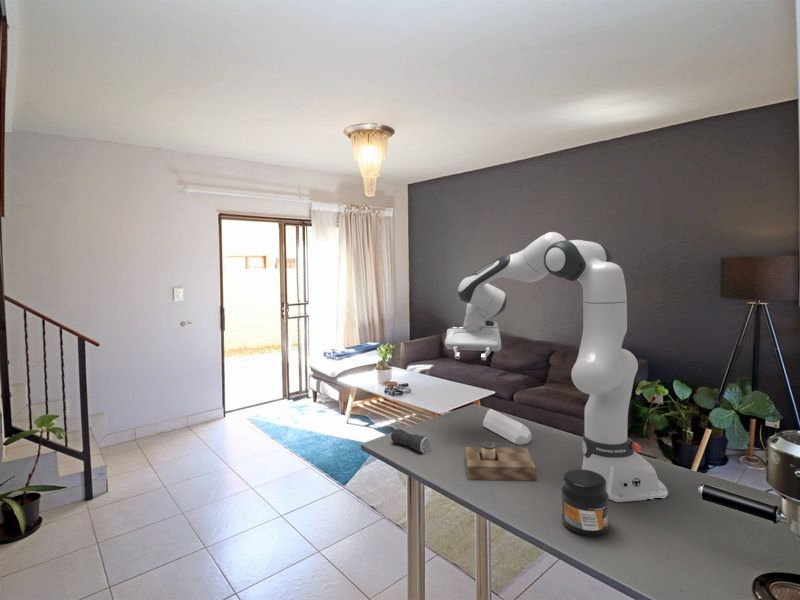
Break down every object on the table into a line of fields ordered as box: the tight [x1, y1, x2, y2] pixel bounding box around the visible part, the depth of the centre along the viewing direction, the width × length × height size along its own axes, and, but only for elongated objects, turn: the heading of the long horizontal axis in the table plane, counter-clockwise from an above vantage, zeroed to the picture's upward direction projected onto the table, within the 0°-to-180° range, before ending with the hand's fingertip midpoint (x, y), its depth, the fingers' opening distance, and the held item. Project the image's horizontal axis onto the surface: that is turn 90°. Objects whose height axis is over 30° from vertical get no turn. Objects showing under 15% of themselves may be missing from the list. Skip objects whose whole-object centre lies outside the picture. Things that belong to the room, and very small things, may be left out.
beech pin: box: [481, 441, 496, 461], centre depth 136 cm, size 4×4×8 cm
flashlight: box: [390, 428, 432, 454], centre depth 155 cm, size 15×5×5 cm, turn 46°
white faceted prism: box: [482, 408, 532, 446], centre depth 164 cm, size 7×7×24 cm
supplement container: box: [560, 468, 610, 537], centre depth 105 cm, size 10×10×12 cm
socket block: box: [464, 446, 537, 481], centre depth 136 cm, size 20×14×4 cm
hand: (470, 358), depth 153 cm, fingers open, 8 cm apart
